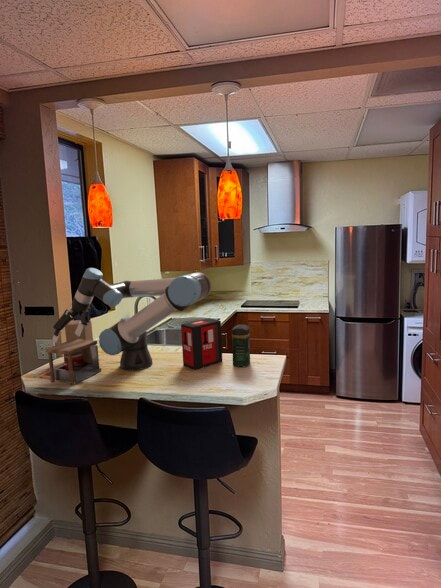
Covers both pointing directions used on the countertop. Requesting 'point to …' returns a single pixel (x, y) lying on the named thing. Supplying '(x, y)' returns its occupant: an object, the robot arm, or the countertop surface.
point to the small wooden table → (69, 349)
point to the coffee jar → (241, 346)
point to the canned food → (74, 361)
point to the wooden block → (71, 329)
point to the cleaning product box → (201, 343)
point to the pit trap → (46, 375)
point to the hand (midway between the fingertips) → (66, 337)
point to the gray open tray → (83, 372)
